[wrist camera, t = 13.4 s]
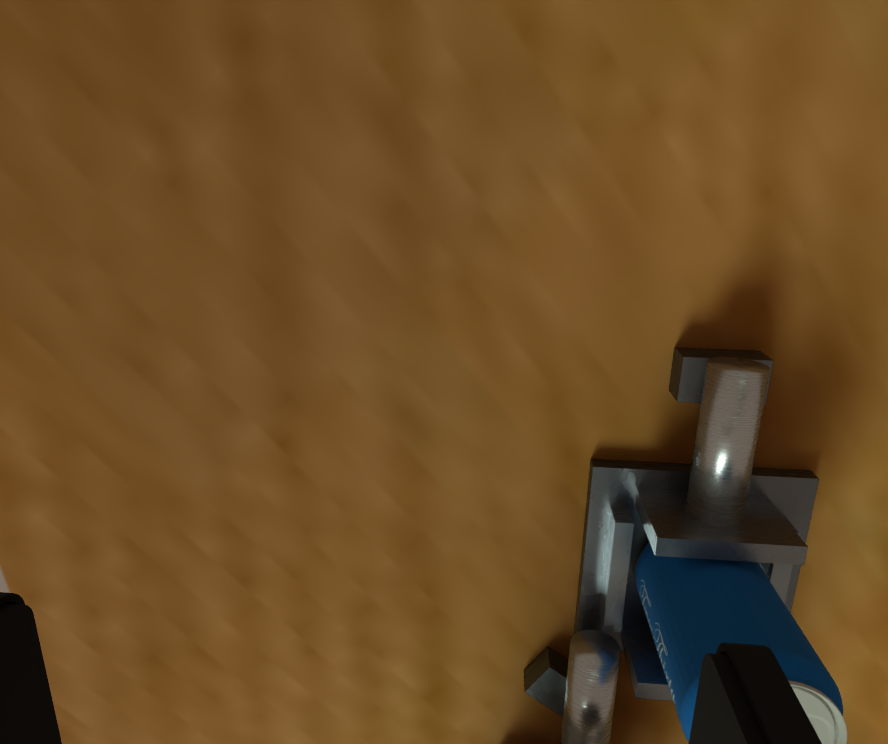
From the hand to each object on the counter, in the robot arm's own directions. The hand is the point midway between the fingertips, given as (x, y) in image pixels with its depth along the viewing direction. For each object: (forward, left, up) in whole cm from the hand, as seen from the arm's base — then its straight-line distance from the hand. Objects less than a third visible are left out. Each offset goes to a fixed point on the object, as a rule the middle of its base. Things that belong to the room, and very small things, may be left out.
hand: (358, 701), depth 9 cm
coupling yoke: (+14, +12, -27) cm, 33 cm away
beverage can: (+15, +13, -27) cm, 33 cm away
